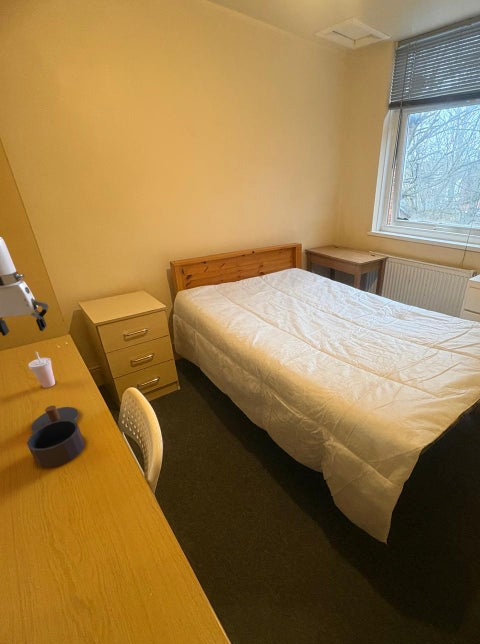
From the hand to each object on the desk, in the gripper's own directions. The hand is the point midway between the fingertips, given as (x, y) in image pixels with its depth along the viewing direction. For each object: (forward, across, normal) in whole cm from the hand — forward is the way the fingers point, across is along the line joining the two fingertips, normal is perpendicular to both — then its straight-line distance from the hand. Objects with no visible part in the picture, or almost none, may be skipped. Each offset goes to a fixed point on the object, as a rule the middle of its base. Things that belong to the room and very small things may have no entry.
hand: (24, 331), depth 101 cm
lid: (+23, -6, +18) cm, 30 cm away
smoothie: (+24, +2, -5) cm, 25 cm away
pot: (+24, -10, +32) cm, 41 cm away
